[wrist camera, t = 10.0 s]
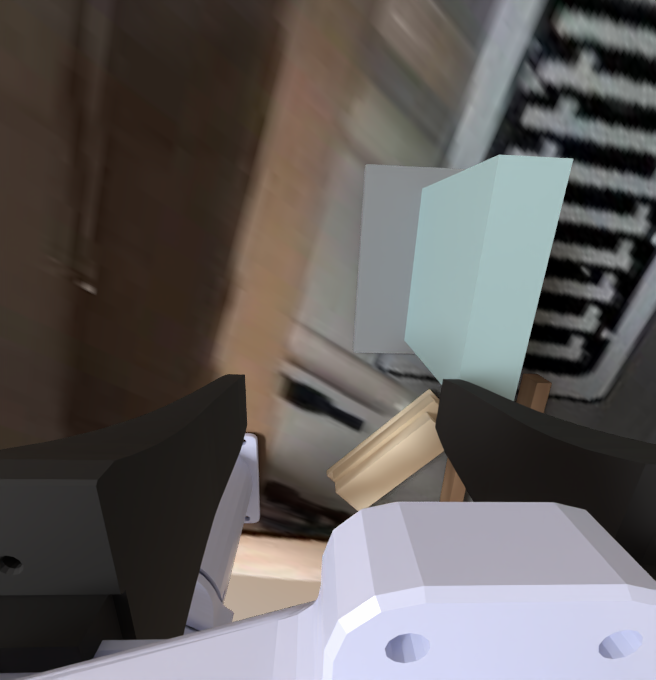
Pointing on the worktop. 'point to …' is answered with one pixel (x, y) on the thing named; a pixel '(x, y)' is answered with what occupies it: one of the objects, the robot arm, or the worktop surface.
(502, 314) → the tall board
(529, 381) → the walnut rack
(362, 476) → the offcut planks
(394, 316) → the slate mat
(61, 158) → the worktop surface
